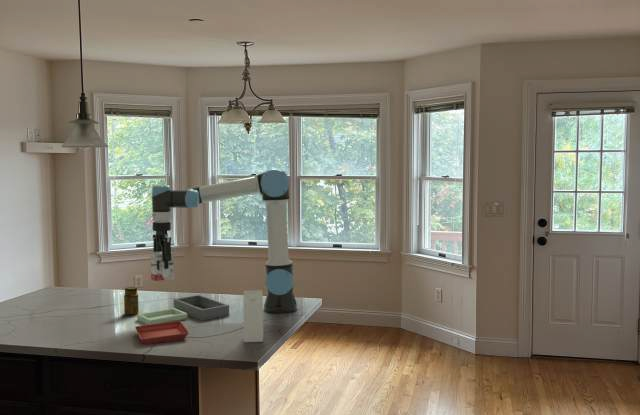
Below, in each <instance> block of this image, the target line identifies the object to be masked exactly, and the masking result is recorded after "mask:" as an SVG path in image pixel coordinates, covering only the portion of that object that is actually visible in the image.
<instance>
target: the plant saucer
mask: <svg viewBox="0 0 640 415" xmlns="http://www.w3.org/2000/svg"><path fill="white" fill-rule="evenodd" d="M134 328H135V330H136V332H137V334H138V337H139V339H140V340H141V342H142V343H143V344H144V345H149V344H150V345H151V344H159V343H164V342H174V341H180V340H184V339H185V338H186V337H187V336H188V335H189V333H190V332H189V331H188V329H187V328H186V327H185V325H184V324H183V322H182V320H181V321H176V322H168V323H160V324H152V325H146V324H144V325H138V326H135V327H134Z"/></svg>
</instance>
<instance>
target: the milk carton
mask: <svg viewBox="0 0 640 415" xmlns="http://www.w3.org/2000/svg"><path fill="white" fill-rule="evenodd" d="M263 299H264V296H263V290H262V289H261V290H243V300H242V301H243V305H242V306H243V311H242V312H243V343H263V342H264V302H263V301H264V300H263Z"/></svg>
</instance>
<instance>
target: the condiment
mask: <svg viewBox="0 0 640 415" xmlns="http://www.w3.org/2000/svg"><path fill="white" fill-rule="evenodd" d="M123 307H124V312H122V318H134V317H137V314H141V313H140V310H139V293H138V287H137V286H127V287H126V288H124V295H123Z"/></svg>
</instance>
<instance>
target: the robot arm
mask: <svg viewBox="0 0 640 415" xmlns="http://www.w3.org/2000/svg"><path fill="white" fill-rule="evenodd" d="M151 192H152V193H151V204H152V205H151V206H152V209H151V210H152V214H151V217H152V221H153V222H152V231H153V232H155V234H152V239H153V240H152V242H153V243H152V244H153V247H152V248H153V251H152V252H160V251H162V257H163V260H162V277H165V276H169V260H171V252H172V237H171V236H169V234H168V232H169V231H171V230H172V228H171V227H172V226H171V225H172V224H171V221H172V220H171V219H172V216H171V215H172V214H171V211H172V210H171V208H172V209H173V208H176V209H177V208H180V209H181V208H184V209H185V208H187V209H188V208H189V209H193V208H198V207H199V205H200V204H204V203H205V204H206V203H210V202H211V203H212V202H215V201H217V202H218V201H221V200H222V201H223V200H227V199H233V198H238V197H245V196H248V195H255V194H259V195H261V196H262V198H261V199H262V202H263V203H264V204H265V209H266V226H267V228H266V229H267V251H268V260H267V261H266V262H265V263H264V264H265V286H266V289H267V294H266V298H265V301H264V302H263V311H264V312H267V313H273V314H285V313H286V314H287V313H292V312H295V311H297V310H298V304H297V300H296V296H295V294H294V277H293V276H294V272H293V271H294V270H293V268H294V264H293V260H292V259H290V258H289V242H288V241H289V239H288V217H287V203H288V202H289V201H290V179H289V176H288V174H287V172H285V171H284V170H283V169H280V168H276V167H275V168H270V169H268V170H266V171H264V172H260V173H256V174H255V175H254V176H251V177H250V176H249V177H244V178H239V179H234V180H228V181H224V182H217V183H214V184H208V185H202V186H197V187H196V186H195V187H189V188H186V189H176V190H175V189H171V187H170V185H168V184H167V185H163V184H160V185H157V184H156V185H153V186H152V189H151Z"/></svg>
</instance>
